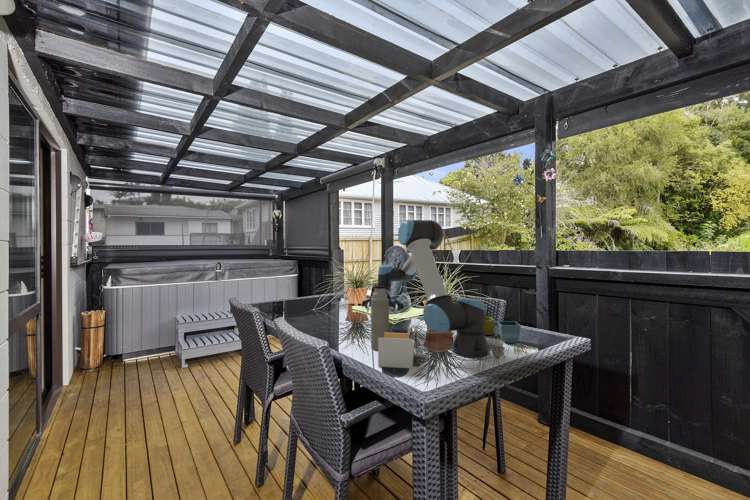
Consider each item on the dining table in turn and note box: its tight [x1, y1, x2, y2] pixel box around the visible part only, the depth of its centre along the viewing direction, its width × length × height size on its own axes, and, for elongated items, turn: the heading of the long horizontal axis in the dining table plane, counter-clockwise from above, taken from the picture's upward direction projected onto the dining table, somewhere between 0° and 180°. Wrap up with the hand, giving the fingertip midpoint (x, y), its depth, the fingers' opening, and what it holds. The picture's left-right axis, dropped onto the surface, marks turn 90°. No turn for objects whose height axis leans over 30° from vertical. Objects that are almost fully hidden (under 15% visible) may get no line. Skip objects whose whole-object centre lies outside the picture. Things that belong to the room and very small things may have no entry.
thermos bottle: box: [370, 285, 390, 351], centre depth 158 cm, size 8×8×28 cm
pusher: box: [384, 332, 410, 339], centre depth 139 cm, size 4×10×10 cm, turn 81°
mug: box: [485, 316, 495, 336], centre depth 182 cm, size 12×10×10 cm
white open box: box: [377, 338, 415, 369], centre depth 142 cm, size 17×13×11 cm
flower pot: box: [497, 320, 521, 344], centre depth 167 cm, size 9×9×9 cm
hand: (382, 310), depth 166 cm, fingers open, 13 cm apart
